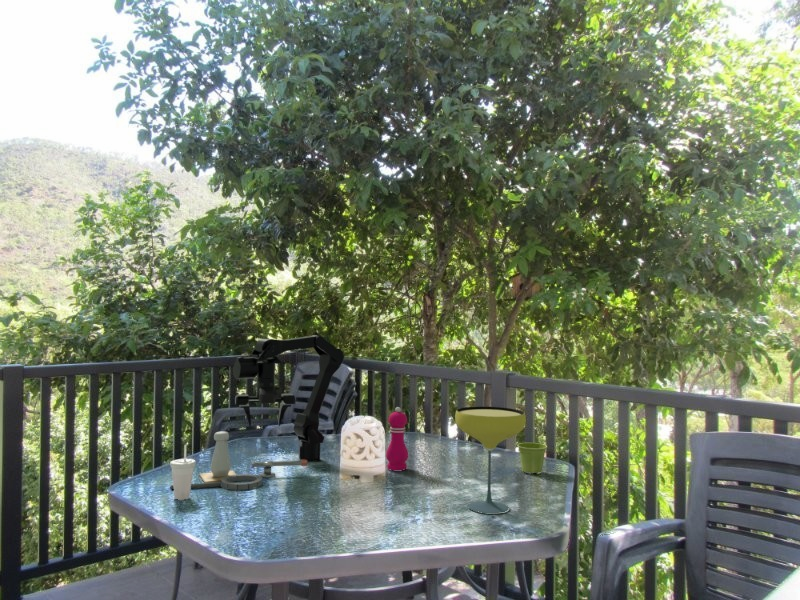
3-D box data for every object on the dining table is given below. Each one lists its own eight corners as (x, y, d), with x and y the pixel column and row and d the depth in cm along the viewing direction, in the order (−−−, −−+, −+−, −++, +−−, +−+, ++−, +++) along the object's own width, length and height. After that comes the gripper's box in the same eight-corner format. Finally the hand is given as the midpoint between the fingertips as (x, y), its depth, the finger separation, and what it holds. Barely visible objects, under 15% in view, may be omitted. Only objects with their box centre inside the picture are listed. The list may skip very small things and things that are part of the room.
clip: (306, 463, 194) (306, 458, 194) (307, 466, 191) (307, 461, 191) (251, 465, 191) (251, 460, 191) (251, 468, 187) (251, 463, 187)
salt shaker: (221, 479, 183) (222, 434, 183) (206, 476, 185) (207, 432, 186) (234, 474, 188) (235, 431, 189) (219, 472, 191) (220, 429, 191)
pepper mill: (409, 467, 205) (410, 405, 205) (407, 472, 197) (408, 408, 198) (387, 466, 205) (388, 405, 206) (384, 471, 198) (385, 408, 199)
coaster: (232, 472, 193) (232, 470, 193) (240, 480, 185) (240, 478, 185) (199, 475, 189) (199, 473, 189) (205, 483, 180) (205, 481, 180)
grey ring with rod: (259, 478, 187) (260, 473, 187) (263, 488, 176) (263, 482, 176) (171, 483, 179) (171, 478, 179) (169, 494, 169) (169, 488, 169)
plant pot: (539, 477, 194) (539, 449, 194) (511, 472, 199) (512, 445, 200) (551, 472, 201) (552, 445, 201) (524, 467, 207) (525, 441, 207)
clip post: (274, 473, 193) (274, 464, 193) (276, 477, 188) (276, 468, 188) (258, 474, 192) (258, 465, 192) (259, 478, 187) (260, 469, 187)
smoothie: (189, 501, 162) (191, 447, 163) (165, 501, 162) (166, 447, 163) (198, 494, 169) (199, 442, 169) (174, 494, 169) (176, 442, 169)
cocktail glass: (539, 513, 158) (540, 414, 159) (482, 523, 149) (483, 418, 150) (494, 494, 174) (495, 404, 175) (440, 503, 165) (442, 408, 166)
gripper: (237, 380, 192) (236, 431, 191) (298, 379, 197) (297, 429, 197) (235, 377, 202) (234, 425, 202) (293, 376, 208) (292, 423, 207)
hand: (264, 426), depth 202 cm, fingers open, 9 cm apart
